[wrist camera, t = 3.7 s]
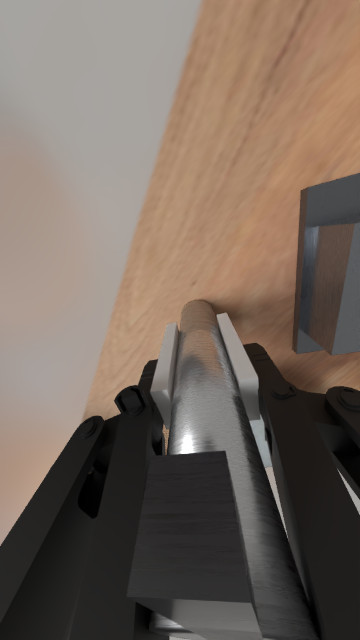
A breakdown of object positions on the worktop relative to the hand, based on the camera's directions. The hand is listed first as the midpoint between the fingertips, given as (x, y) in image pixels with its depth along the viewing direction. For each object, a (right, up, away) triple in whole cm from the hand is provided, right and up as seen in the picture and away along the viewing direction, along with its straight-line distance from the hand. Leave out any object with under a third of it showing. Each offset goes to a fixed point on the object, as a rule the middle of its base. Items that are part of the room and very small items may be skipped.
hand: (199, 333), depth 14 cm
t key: (0, +2, +3) cm, 4 cm away
